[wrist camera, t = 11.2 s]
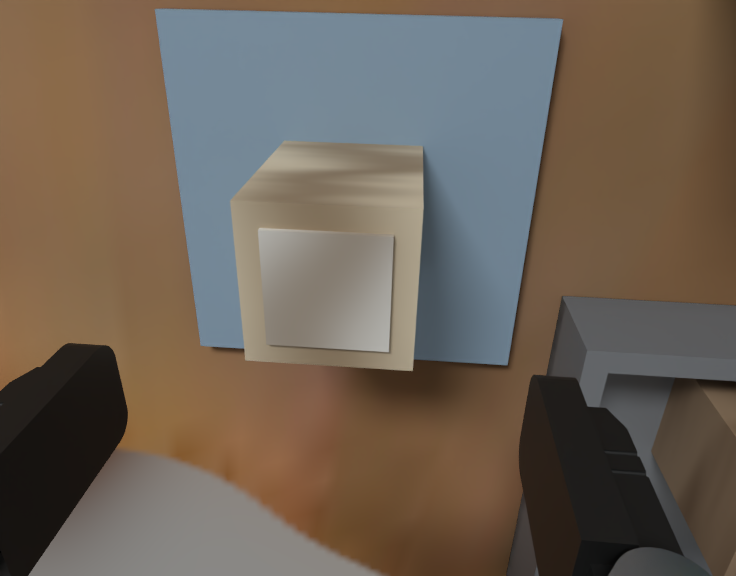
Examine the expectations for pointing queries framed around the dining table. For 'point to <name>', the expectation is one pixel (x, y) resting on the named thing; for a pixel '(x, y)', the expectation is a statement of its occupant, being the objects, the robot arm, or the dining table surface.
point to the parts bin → (636, 380)
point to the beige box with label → (331, 254)
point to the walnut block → (702, 464)
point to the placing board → (369, 126)
